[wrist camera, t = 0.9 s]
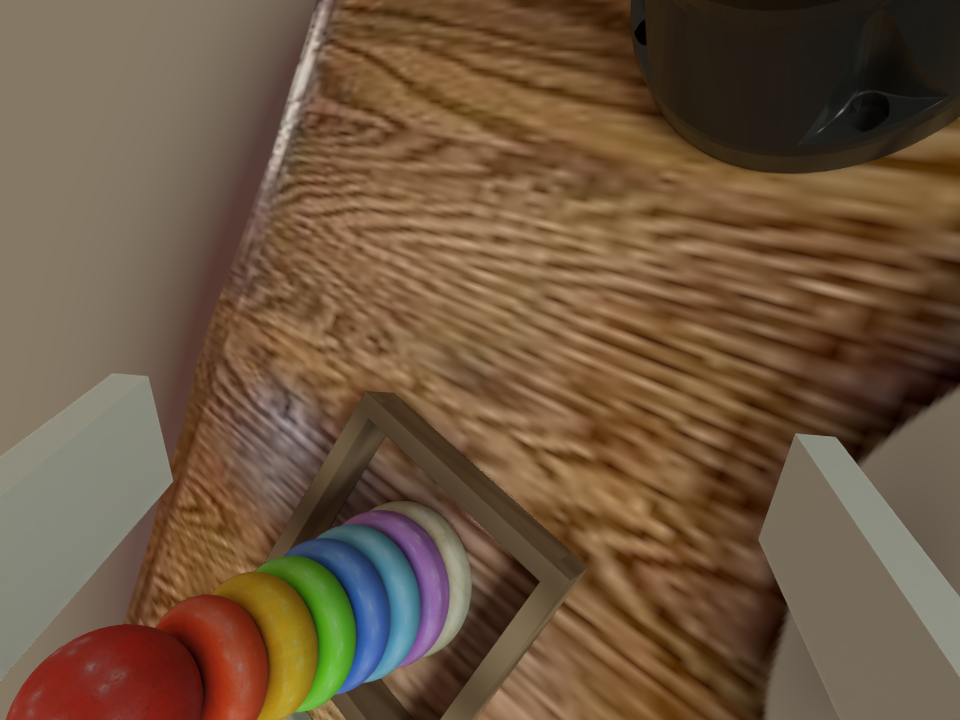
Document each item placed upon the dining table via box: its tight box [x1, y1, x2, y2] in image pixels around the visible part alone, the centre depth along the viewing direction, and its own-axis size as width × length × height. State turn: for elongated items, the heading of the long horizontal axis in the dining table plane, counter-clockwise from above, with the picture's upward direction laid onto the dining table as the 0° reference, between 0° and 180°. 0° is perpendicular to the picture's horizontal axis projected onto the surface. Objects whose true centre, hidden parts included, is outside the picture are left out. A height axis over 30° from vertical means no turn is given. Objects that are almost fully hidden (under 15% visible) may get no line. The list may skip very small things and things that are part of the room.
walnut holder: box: [264, 392, 588, 720], centre depth 31 cm, size 14×14×2 cm
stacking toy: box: [6, 501, 472, 720], centre depth 24 cm, size 8×8×19 cm
